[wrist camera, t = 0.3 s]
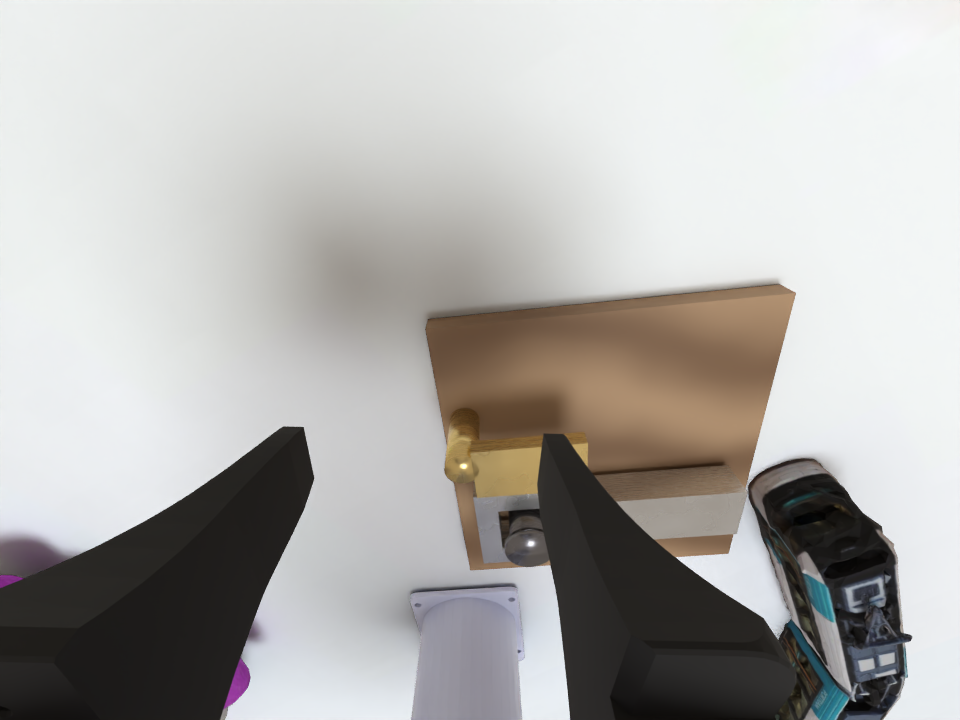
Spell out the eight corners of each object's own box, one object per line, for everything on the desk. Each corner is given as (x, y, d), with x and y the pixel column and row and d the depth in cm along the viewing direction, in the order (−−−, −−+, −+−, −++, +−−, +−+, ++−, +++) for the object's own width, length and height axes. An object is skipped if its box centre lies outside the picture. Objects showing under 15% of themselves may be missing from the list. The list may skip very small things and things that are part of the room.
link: (483, 534, 27) (483, 563, 25) (473, 470, 24) (473, 497, 22) (716, 518, 26) (733, 546, 24) (731, 449, 23) (751, 476, 22)
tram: (880, 439, 25) (1005, 541, 19) (828, 700, 40) (889, 803, 34) (744, 465, 26) (820, 568, 20) (743, 708, 41) (787, 810, 35)
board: (719, 538, 29) (728, 553, 28) (470, 554, 30) (470, 570, 29) (779, 284, 20) (796, 293, 19) (428, 319, 21) (425, 329, 20)
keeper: (572, 437, 23) (587, 489, 20) (454, 447, 24) (450, 500, 20) (571, 395, 22) (587, 443, 19) (447, 406, 22) (441, 455, 19)
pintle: (546, 510, 26) (555, 565, 23) (503, 513, 26) (506, 568, 23) (544, 479, 25) (554, 532, 22) (500, 482, 25) (502, 535, 22)
